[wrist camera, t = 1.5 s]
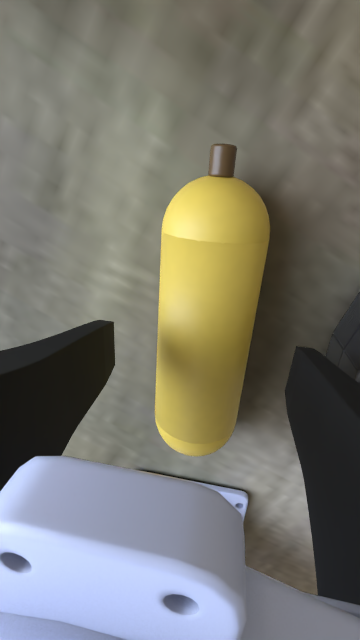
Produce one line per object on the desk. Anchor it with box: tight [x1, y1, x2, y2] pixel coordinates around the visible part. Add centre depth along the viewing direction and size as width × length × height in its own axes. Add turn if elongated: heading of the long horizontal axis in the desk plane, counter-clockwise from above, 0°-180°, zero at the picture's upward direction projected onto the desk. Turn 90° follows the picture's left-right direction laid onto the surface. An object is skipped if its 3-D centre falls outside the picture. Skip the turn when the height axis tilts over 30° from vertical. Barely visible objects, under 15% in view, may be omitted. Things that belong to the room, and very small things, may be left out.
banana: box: [155, 144, 270, 456], centre depth 14 cm, size 14×4×4 cm, turn 176°
